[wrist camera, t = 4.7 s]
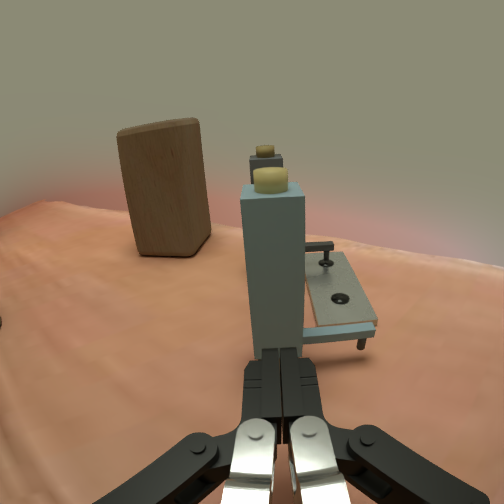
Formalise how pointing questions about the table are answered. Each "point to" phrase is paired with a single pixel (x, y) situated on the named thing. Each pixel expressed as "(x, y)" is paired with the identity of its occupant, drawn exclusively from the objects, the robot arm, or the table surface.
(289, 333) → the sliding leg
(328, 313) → the grey flat plate
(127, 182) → the block
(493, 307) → the table surface
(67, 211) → the table surface
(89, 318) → the table surface
